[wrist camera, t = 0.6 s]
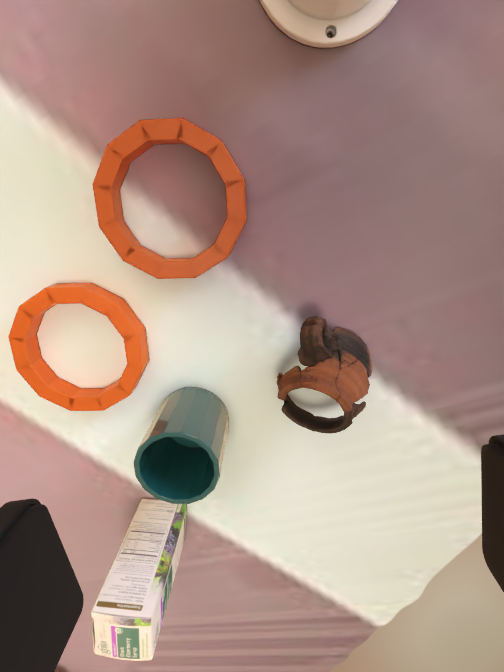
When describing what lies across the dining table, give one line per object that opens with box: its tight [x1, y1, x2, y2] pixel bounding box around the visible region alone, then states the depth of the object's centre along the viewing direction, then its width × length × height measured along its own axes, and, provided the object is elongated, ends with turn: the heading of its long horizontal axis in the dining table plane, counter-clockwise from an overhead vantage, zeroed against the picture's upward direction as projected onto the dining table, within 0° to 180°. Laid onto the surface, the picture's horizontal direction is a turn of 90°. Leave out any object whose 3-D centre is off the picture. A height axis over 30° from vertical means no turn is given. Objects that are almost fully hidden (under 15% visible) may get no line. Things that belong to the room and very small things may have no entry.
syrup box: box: [91, 499, 187, 661], centre depth 42 cm, size 6×6×14 cm
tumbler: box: [134, 387, 229, 504], centre depth 40 cm, size 8×8×9 cm
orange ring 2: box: [93, 118, 246, 279], centre depth 36 cm, size 13×13×2 cm
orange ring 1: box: [9, 283, 149, 411], centre depth 41 cm, size 13×13×2 cm
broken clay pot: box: [277, 316, 372, 433], centre depth 39 cm, size 12×10×8 cm
